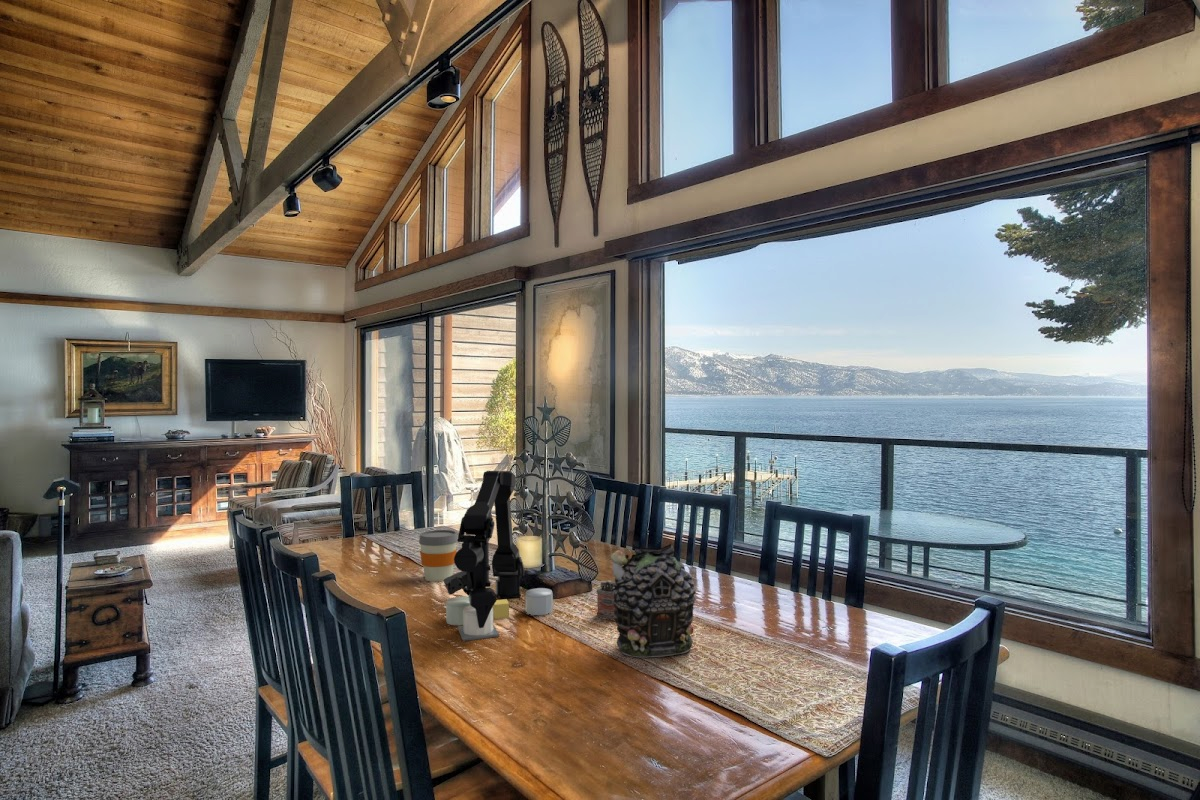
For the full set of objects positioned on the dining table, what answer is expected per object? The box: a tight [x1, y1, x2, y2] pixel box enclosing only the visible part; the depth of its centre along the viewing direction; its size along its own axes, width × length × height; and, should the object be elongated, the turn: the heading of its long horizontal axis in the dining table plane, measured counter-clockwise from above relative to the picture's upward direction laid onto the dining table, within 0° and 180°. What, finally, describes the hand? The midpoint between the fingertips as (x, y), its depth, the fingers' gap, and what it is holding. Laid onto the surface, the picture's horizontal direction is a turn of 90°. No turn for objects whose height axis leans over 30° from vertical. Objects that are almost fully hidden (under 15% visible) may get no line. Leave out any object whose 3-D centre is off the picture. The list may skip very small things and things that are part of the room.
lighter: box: [596, 579, 615, 621], centre depth 181 cm, size 8×3×10 cm, turn 62°
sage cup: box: [445, 595, 471, 626], centre depth 180 cm, size 7×7×6 cm
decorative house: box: [610, 544, 697, 659], centre depth 158 cm, size 21×15×25 cm
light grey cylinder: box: [525, 587, 554, 616], centre depth 187 cm, size 7×7×6 cm
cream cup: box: [462, 606, 494, 636], centre depth 170 cm, size 7×7×6 cm
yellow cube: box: [492, 598, 510, 620], centre depth 183 cm, size 4×4×4 cm
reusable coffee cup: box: [418, 529, 458, 583], centre depth 223 cm, size 13×13×15 cm
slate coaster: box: [457, 624, 500, 642], centre depth 170 cm, size 9×9×1 cm
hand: (478, 621), depth 170 cm, fingers open, 9 cm apart
